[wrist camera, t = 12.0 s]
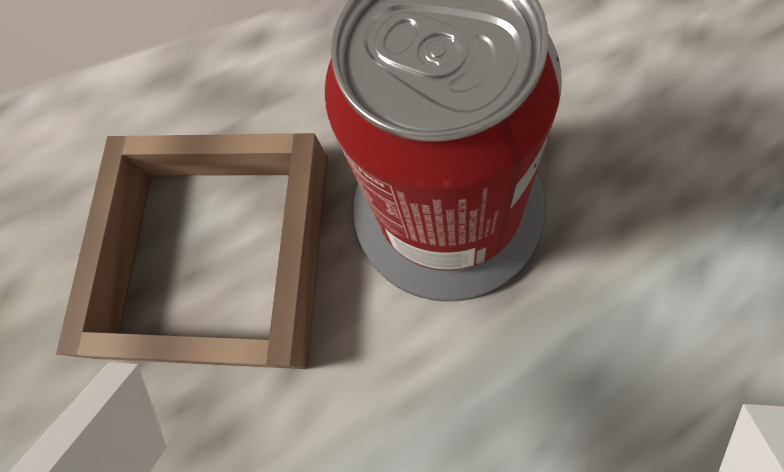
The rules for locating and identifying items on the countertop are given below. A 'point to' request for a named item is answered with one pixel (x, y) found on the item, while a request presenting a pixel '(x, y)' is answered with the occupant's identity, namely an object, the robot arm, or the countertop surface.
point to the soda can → (444, 119)
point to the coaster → (451, 282)
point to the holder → (121, 229)
